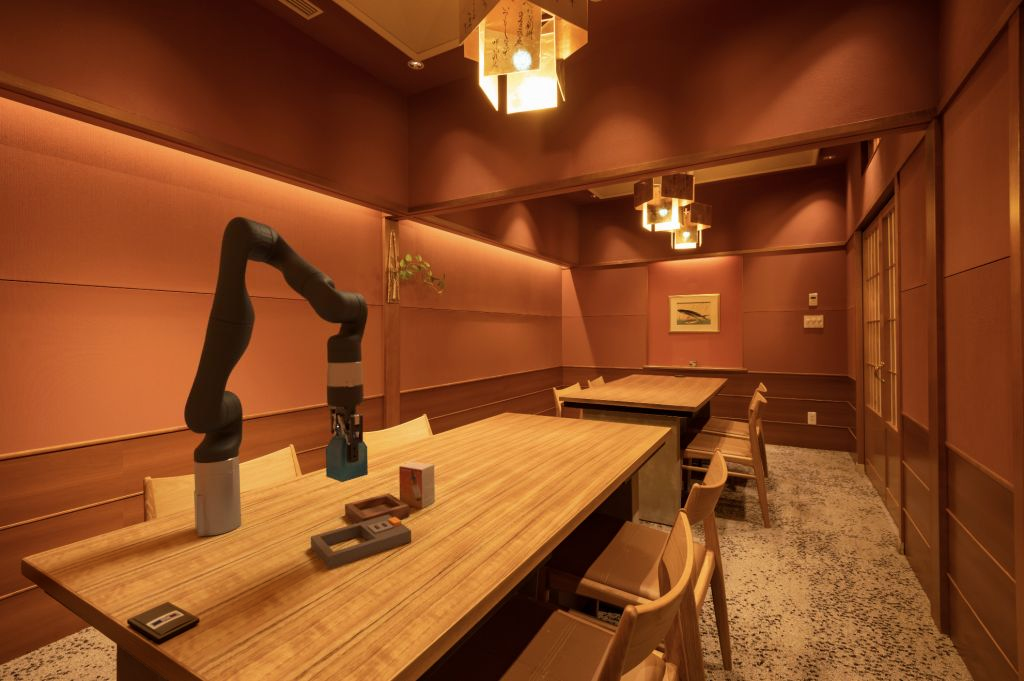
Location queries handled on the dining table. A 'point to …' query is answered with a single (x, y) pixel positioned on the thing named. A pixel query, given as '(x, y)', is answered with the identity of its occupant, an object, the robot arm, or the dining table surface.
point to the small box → (417, 484)
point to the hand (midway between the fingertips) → (346, 458)
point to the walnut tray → (376, 508)
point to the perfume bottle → (344, 460)
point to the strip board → (378, 538)
